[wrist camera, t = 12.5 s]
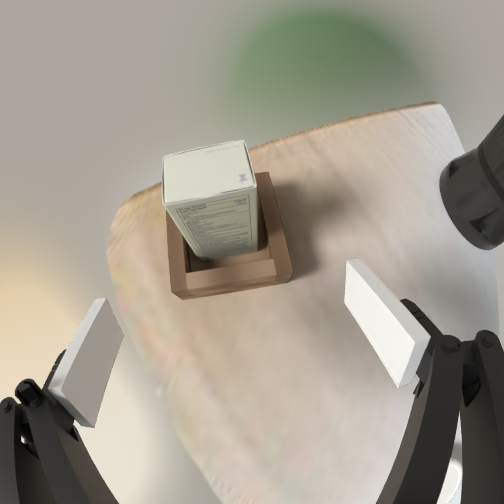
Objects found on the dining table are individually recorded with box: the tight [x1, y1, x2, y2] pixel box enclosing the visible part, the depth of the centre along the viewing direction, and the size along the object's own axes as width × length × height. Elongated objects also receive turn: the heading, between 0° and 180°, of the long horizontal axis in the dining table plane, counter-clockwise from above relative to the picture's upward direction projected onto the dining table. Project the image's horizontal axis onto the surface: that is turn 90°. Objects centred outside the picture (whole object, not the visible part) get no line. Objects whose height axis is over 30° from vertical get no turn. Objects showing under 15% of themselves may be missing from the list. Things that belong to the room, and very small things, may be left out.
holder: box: [166, 172, 293, 300], centre depth 28 cm, size 11×11×4 cm
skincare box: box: [162, 140, 258, 261], centre depth 23 cm, size 6×4×12 cm
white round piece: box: [437, 457, 462, 504], centre depth 17 cm, size 10×10×4 cm
